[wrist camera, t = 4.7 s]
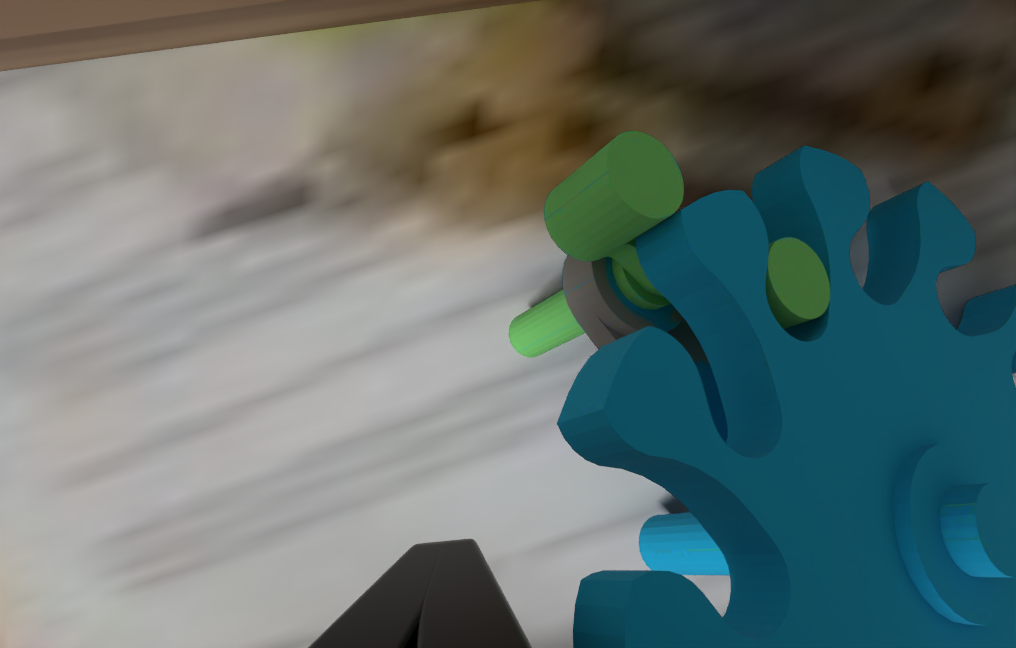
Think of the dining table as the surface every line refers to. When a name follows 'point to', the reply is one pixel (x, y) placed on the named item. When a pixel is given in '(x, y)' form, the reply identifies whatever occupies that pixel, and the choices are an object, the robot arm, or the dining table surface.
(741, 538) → the gear
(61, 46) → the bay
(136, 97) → the dining table surface
